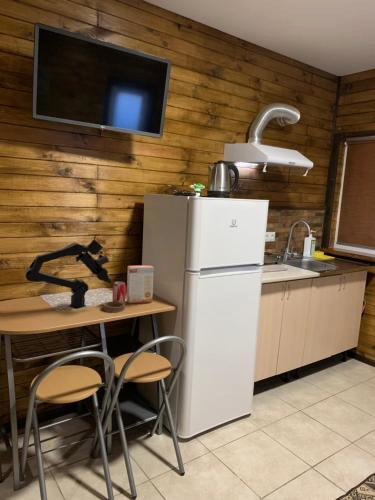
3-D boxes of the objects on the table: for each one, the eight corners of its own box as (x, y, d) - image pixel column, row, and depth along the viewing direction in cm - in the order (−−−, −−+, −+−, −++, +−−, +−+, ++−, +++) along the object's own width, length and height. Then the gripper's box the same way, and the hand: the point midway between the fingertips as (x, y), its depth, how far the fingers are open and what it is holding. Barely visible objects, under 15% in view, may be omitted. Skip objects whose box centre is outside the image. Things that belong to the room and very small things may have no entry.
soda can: (109, 303, 214) (110, 282, 212) (118, 301, 220) (119, 280, 218) (118, 306, 210) (119, 284, 208) (127, 303, 216) (128, 282, 214)
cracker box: (149, 299, 226) (151, 265, 223) (152, 302, 221) (154, 267, 218) (126, 300, 221) (127, 265, 218) (128, 303, 216) (129, 267, 213)
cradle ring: (113, 313, 197) (113, 308, 197) (99, 308, 204) (99, 303, 203) (128, 309, 206) (129, 304, 205) (115, 304, 212) (115, 300, 212)
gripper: (104, 253, 197) (124, 274, 204) (96, 248, 214) (114, 267, 220) (88, 269, 195) (109, 289, 201) (81, 262, 211) (100, 281, 218)
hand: (108, 280), depth 210 cm, fingers open, 9 cm apart
